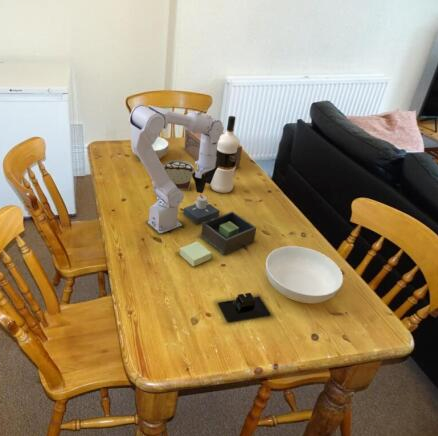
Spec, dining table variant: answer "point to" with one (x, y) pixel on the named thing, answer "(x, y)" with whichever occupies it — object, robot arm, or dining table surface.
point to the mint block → (195, 253)
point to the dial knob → (201, 202)
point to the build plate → (243, 308)
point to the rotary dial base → (201, 213)
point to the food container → (180, 173)
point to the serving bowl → (303, 274)
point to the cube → (228, 229)
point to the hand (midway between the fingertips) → (203, 187)
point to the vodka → (226, 159)
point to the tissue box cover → (194, 146)
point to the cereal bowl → (158, 147)
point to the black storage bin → (232, 243)
